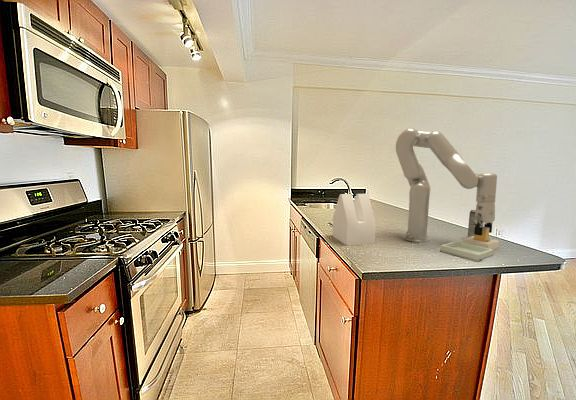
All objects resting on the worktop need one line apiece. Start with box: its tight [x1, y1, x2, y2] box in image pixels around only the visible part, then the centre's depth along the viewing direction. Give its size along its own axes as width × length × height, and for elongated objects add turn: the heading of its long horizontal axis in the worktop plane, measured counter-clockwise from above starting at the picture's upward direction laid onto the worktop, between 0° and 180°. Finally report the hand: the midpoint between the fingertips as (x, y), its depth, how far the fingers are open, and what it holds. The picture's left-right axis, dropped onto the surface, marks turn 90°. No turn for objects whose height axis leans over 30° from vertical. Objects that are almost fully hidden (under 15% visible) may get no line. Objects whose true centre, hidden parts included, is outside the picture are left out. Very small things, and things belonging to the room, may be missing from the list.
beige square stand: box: [462, 236, 500, 251], centre depth 134 cm, size 11×11×4 cm
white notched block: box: [332, 193, 377, 246], centre depth 146 cm, size 19×15×25 cm
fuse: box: [474, 225, 490, 242], centre depth 134 cm, size 3×5×10 cm, turn 32°
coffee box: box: [466, 209, 485, 238], centre depth 146 cm, size 9×6×16 cm
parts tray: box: [439, 240, 495, 263], centre depth 125 cm, size 14×16×3 cm
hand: (483, 233), depth 134 cm, fingers open, 9 cm apart
